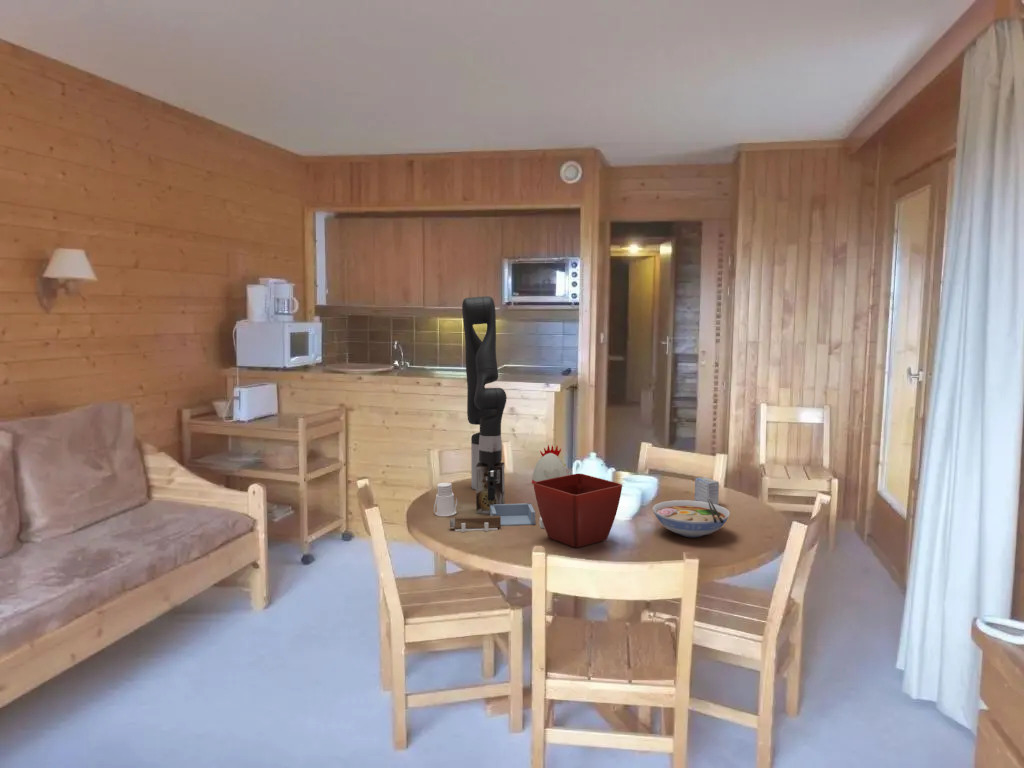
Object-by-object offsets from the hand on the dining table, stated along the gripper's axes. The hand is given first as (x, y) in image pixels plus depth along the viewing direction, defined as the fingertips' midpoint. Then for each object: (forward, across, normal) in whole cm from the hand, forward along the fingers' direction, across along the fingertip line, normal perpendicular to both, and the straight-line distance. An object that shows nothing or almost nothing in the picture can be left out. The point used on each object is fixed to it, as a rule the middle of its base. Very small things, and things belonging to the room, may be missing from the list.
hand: (490, 496), depth 244 cm
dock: (+5, +11, +6) cm, 13 cm away
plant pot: (+5, +31, +23) cm, 39 cm away
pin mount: (+5, +18, +1) cm, 19 cm away
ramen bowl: (+5, +30, +58) cm, 66 cm away
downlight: (+5, +1, -15) cm, 16 cm away
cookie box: (+5, 0, 0) cm, 5 cm away
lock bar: (+5, +18, -5) cm, 20 cm away
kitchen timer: (+5, -36, +26) cm, 45 cm away
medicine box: (+5, -1, +75) cm, 75 cm away
